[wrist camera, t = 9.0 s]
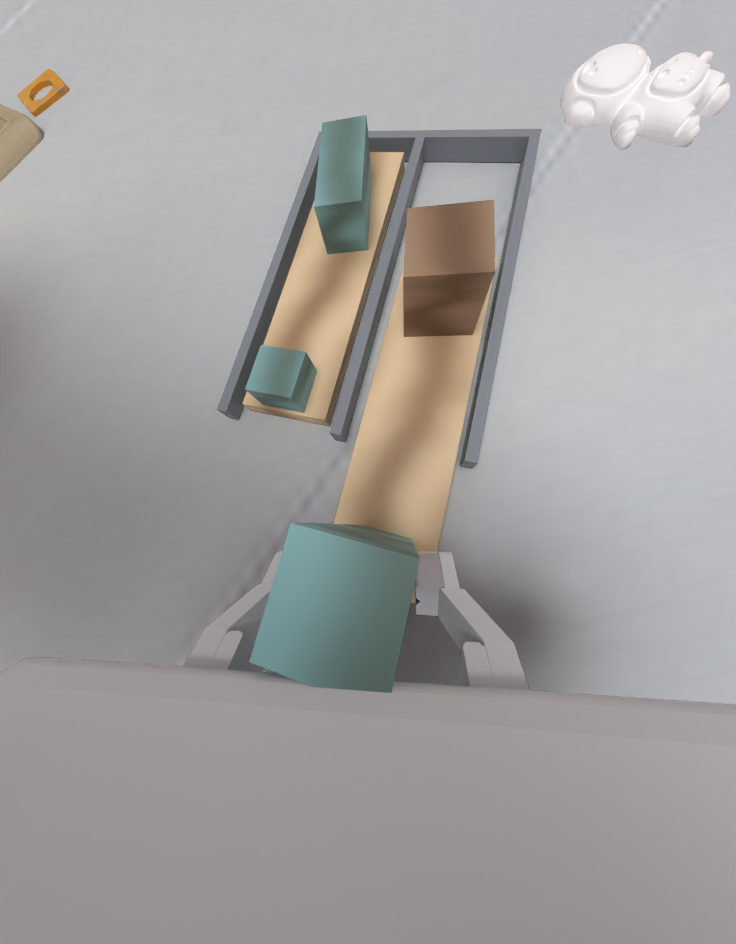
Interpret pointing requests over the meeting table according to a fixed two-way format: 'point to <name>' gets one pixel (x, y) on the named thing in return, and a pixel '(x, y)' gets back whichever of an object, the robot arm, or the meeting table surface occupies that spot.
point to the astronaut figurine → (644, 95)
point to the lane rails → (416, 151)
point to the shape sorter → (26, 121)
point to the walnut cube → (447, 267)
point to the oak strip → (374, 521)
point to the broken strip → (327, 278)
